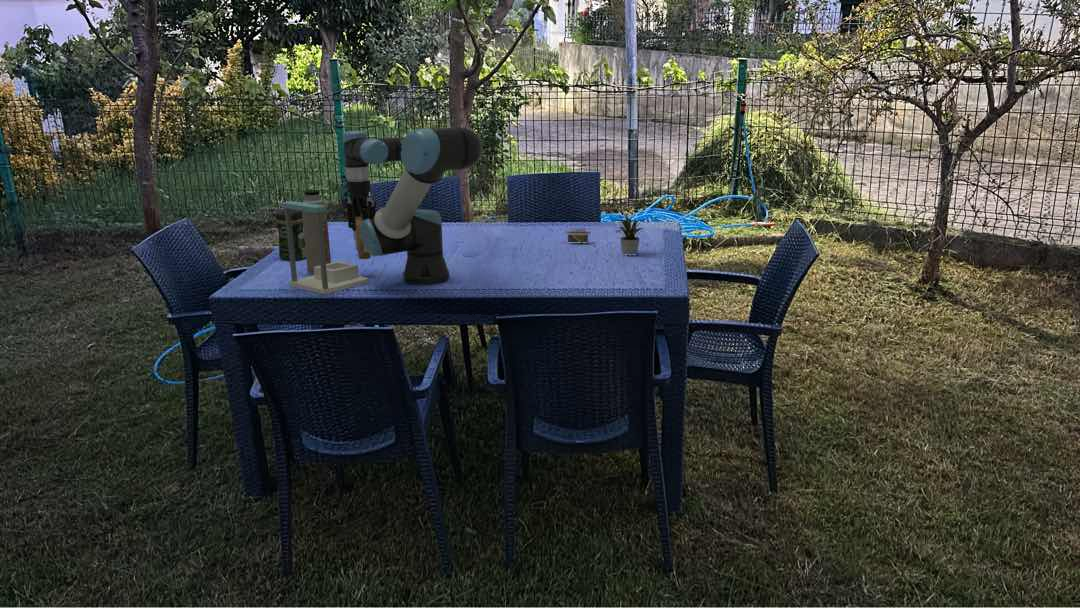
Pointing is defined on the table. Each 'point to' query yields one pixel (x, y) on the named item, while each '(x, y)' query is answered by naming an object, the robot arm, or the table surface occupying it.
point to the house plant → (629, 235)
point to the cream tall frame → (325, 275)
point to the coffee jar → (297, 234)
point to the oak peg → (360, 239)
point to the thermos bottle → (314, 233)
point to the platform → (578, 235)
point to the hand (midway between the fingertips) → (364, 250)
